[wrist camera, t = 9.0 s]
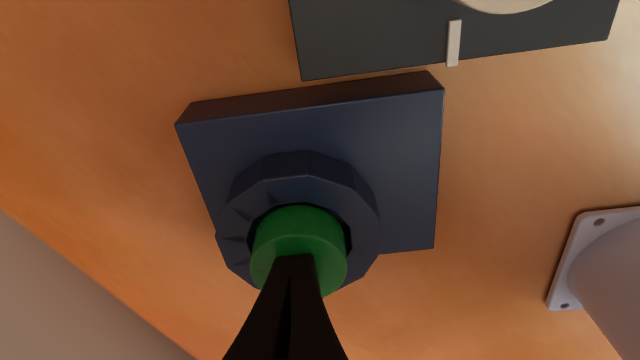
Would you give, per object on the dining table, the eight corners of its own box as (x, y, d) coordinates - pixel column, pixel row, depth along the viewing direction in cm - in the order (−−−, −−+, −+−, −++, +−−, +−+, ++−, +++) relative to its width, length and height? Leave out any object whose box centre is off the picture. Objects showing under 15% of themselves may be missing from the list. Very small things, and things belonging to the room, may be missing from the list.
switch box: (428, 69, 14) (464, 107, 11) (421, 223, 19) (446, 282, 15) (189, 102, 15) (154, 147, 11) (240, 243, 19) (225, 304, 16)
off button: (339, 198, 13) (343, 229, 12) (347, 264, 15) (351, 298, 14) (245, 209, 13) (238, 241, 12) (266, 272, 15) (261, 307, 14)
